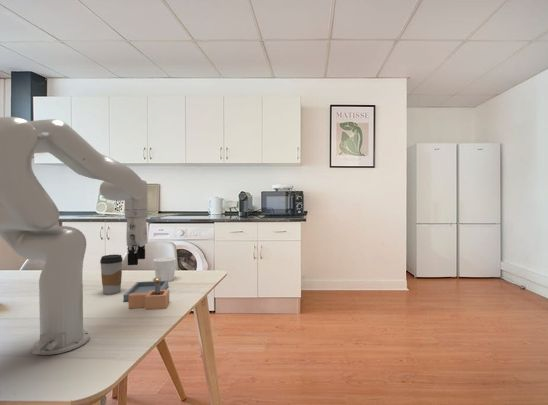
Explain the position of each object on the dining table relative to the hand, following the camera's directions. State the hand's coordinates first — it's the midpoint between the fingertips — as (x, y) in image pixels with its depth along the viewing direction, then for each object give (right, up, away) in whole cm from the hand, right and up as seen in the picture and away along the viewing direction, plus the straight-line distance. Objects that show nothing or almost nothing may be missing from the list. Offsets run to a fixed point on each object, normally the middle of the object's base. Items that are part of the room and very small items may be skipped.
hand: (136, 261), depth 109 cm
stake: (+7, -16, +1) cm, 18 cm away
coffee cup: (-18, -16, +17) cm, 29 cm away
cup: (-3, -16, +35) cm, 39 cm away
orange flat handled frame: (+4, -16, +1) cm, 17 cm away
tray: (-2, -16, +15) cm, 22 cm away
